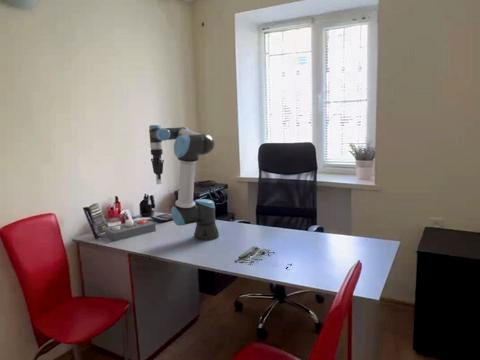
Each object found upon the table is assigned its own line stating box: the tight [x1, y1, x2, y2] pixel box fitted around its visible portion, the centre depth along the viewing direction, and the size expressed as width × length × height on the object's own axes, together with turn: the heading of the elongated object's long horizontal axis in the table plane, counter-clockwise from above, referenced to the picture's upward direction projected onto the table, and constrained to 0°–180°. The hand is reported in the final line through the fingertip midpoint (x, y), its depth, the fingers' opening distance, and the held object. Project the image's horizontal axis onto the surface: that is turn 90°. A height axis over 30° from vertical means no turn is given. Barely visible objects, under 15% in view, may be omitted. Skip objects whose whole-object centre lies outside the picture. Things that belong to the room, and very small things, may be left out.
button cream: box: [124, 218, 134, 228], centre depth 242 cm, size 5×5×4 cm
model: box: [234, 245, 273, 266], centre depth 193 cm, size 21×30×2 cm
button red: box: [138, 219, 147, 225], centre depth 248 cm, size 5×5×4 cm
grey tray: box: [103, 218, 157, 242], centre depth 242 cm, size 16×28×5 cm, turn 132°
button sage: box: [112, 225, 120, 231], centre depth 236 cm, size 5×5×4 cm
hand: (158, 184), depth 251 cm, fingers closed
